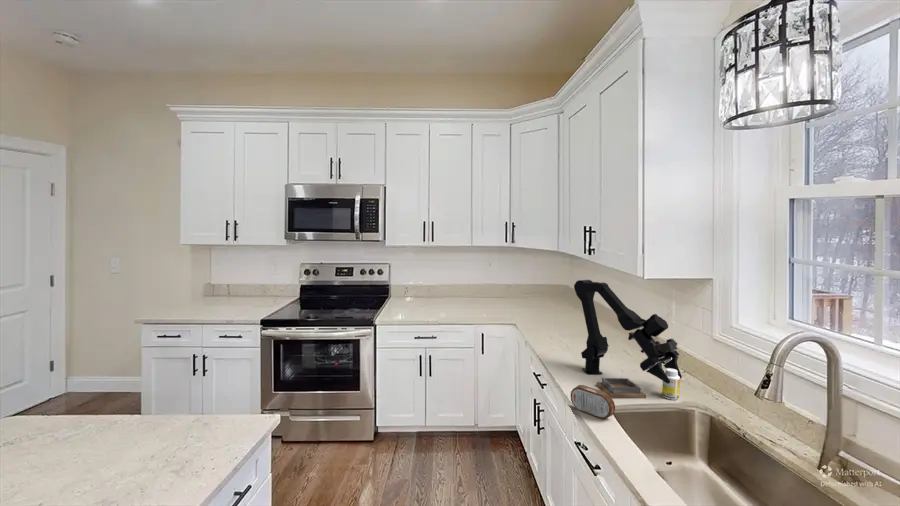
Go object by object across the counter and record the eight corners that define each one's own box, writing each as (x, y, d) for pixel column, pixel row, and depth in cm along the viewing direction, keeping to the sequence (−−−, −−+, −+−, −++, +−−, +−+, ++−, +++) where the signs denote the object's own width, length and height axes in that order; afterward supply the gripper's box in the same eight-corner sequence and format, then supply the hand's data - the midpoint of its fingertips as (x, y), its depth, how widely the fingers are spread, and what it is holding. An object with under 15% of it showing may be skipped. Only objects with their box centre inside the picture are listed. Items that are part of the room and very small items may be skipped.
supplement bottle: (672, 394, 164) (674, 367, 164) (682, 400, 159) (683, 372, 158) (658, 394, 164) (660, 367, 163) (667, 400, 158) (669, 372, 158)
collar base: (596, 385, 172) (596, 377, 172) (628, 385, 173) (629, 377, 173) (610, 398, 159) (611, 389, 159) (645, 398, 160) (646, 389, 160)
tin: (615, 420, 141) (616, 394, 140) (610, 423, 139) (611, 397, 138) (573, 405, 152) (574, 381, 151) (568, 407, 150) (569, 383, 149)
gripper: (649, 335, 157) (679, 374, 149) (675, 328, 169) (704, 364, 160) (628, 351, 164) (655, 390, 156) (654, 344, 175) (681, 379, 167)
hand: (675, 380), depth 160 cm, fingers open, 8 cm apart
